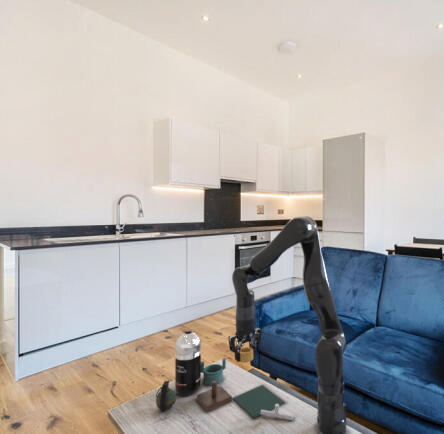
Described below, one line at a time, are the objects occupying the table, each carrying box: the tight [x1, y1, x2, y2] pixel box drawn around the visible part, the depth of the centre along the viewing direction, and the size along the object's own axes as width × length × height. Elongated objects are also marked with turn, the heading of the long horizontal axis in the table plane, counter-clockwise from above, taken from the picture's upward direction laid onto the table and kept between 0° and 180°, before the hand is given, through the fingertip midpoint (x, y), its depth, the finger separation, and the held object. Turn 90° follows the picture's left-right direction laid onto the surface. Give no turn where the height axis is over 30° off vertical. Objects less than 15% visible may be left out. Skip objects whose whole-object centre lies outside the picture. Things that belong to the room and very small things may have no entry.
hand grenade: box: [155, 380, 177, 413], centre depth 116 cm, size 8×7×10 cm
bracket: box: [201, 357, 227, 386], centre depth 136 cm, size 9×9×9 cm
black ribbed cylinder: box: [174, 330, 202, 397], centre depth 128 cm, size 10×10×25 cm
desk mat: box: [232, 384, 286, 420], centre depth 121 cm, size 16×14×1 cm
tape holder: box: [196, 381, 233, 413], centre depth 121 cm, size 10×10×8 cm
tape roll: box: [239, 346, 254, 363], centre depth 121 cm, size 6×6×4 cm
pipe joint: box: [260, 404, 294, 421], centre depth 112 cm, size 12×2×4 cm, turn 78°
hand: (245, 358), depth 121 cm, fingers closed on tape roll, 6 cm apart
